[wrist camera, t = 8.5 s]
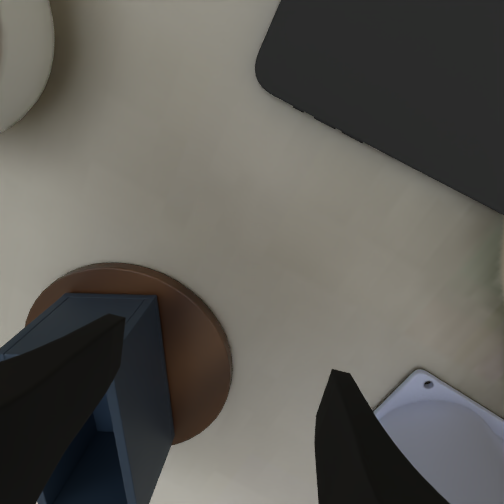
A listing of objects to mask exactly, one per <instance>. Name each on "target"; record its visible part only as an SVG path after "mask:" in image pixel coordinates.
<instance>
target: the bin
mask: <svg viewBox="0 0 504 504" xmlns="http://www.w3.org/2000/svg"><path fill="white" fill-rule="evenodd" d="M108 313H110V314H114V315H118V316H122V317H126V320H125V329H124V338H123V348H122V357H121V366H120V368H119V370H118V372H117V374H116V376H115V378H114V380H113V382H112V383H111V385H110V387H109V389H108V391H107V392H106V394H105V395H104V397H103V398H102V400H101V401H100V402H99V404H98V405H97V407H96V408H95V410H94V411H93V412H92V414H91V415H90V417H89V418H88V419H87V421H86V422H85V424H84V425H83V426H82V428H81V429H80V431H79V432H78V434H77V435H76V436H75V438H74V439H73V441H72V442H71V443H70V445H69V446H68V448H67V449H66V451H65V453H64V454H63V456H62V457H61V459H60V461H59V462H58V464H57V466H56V468H55V469H54V471H53V473H52V475H51V476H50V478H49V480H48V482H47V484H46V485H45V487H44V489H43V491H42V493H41V495H40V496H39V498H38V500H37V502H38V504H149V502H150V499H151V497H152V494H153V492H154V489H155V486H156V484H157V481H158V478H159V476H160V473H161V471H162V468H163V465H164V463H165V460H166V457H167V455H168V452H169V450H170V447H171V444H172V441H173V439H174V437H175V433H174V426H173V418H172V410H171V402H170V394H169V386H168V379H167V371H166V363H165V355H164V347H163V339H162V332H161V324H160V316H159V308H158V300H157V295H131V294H90V293H65V294H64V295H63V296H62V297H60V298H59V299H58V300H57V301H56V302H54V303H53V304H52V305H51V306H50V307H49V308H47V309H46V310H45V311H44V312H43V313H41V314H40V315H39V316H38V317H37V318H35V319H34V320H33V321H32V322H31V323H30V324H28V325H27V326H26V327H25V328H24V329H22V330H21V331H20V332H19V333H18V334H17V335H15V336H14V337H13V338H12V339H11V340H9V341H8V342H7V343H6V344H5V345H3V346H2V347H1V348H0V361H3V360H6V359H9V358H12V357H15V356H18V355H21V354H23V353H26V352H29V351H31V350H34V349H36V348H38V347H40V346H43V345H45V344H47V343H49V342H52V341H54V340H56V339H58V338H61V337H63V336H65V335H67V334H69V333H71V332H73V331H75V330H77V329H79V328H81V327H83V326H85V325H87V324H89V323H90V322H92V321H94V320H96V319H98V318H100V317H102V316H104V315H106V314H108Z"/></svg>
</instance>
